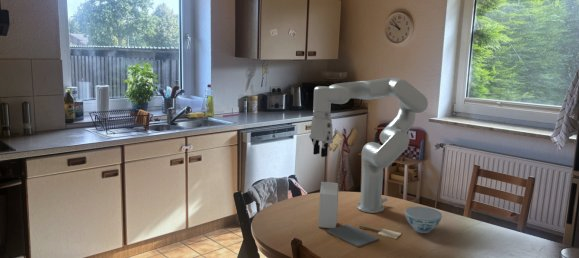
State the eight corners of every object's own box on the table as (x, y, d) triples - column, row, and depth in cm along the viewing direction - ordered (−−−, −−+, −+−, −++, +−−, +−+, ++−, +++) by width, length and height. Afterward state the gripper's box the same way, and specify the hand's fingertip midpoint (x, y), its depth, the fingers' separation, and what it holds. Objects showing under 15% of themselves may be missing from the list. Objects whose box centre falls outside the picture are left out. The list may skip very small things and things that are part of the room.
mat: (347, 225, 211) (347, 224, 211) (378, 239, 197) (379, 238, 197) (326, 231, 203) (326, 230, 203) (358, 247, 190) (358, 245, 189)
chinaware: (443, 227, 211) (445, 210, 209) (436, 240, 198) (437, 222, 196) (409, 220, 218) (410, 204, 216) (399, 232, 205) (400, 214, 203)
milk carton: (335, 229, 206) (337, 185, 203) (318, 227, 208) (320, 184, 204) (337, 222, 213) (338, 180, 209) (320, 221, 215) (322, 179, 211)
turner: (362, 224, 211) (363, 222, 211) (401, 234, 203) (401, 232, 203) (357, 229, 206) (357, 227, 206) (396, 239, 198) (396, 237, 198)
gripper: (341, 116, 211) (339, 158, 215) (315, 111, 224) (314, 150, 227) (328, 118, 206) (326, 160, 210) (302, 112, 219) (301, 152, 223)
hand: (320, 154), depth 219 cm, fingers open, 4 cm apart
